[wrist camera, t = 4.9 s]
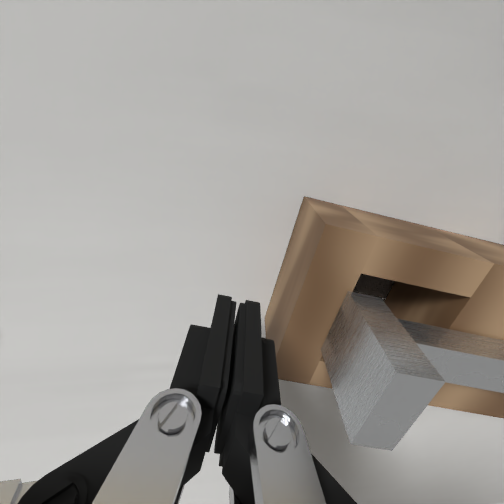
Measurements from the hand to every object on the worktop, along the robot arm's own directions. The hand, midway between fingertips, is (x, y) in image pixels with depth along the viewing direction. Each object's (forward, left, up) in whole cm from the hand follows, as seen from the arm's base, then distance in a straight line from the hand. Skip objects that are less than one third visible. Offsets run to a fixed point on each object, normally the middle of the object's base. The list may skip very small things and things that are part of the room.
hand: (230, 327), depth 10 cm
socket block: (-13, 0, -7) cm, 15 cm away
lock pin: (-11, 0, -2) cm, 11 cm away
